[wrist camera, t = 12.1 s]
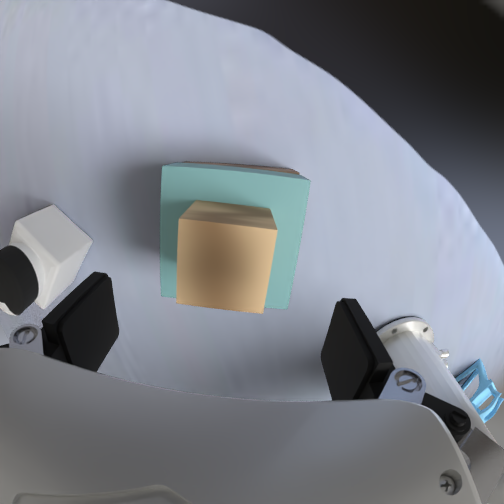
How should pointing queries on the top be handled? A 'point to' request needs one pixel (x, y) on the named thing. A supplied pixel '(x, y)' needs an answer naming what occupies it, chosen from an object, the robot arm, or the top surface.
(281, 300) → the teal slab
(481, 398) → the chair
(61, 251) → the medicine bottle
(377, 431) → the robot arm
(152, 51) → the top surface
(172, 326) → the top surface
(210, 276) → the oak block
